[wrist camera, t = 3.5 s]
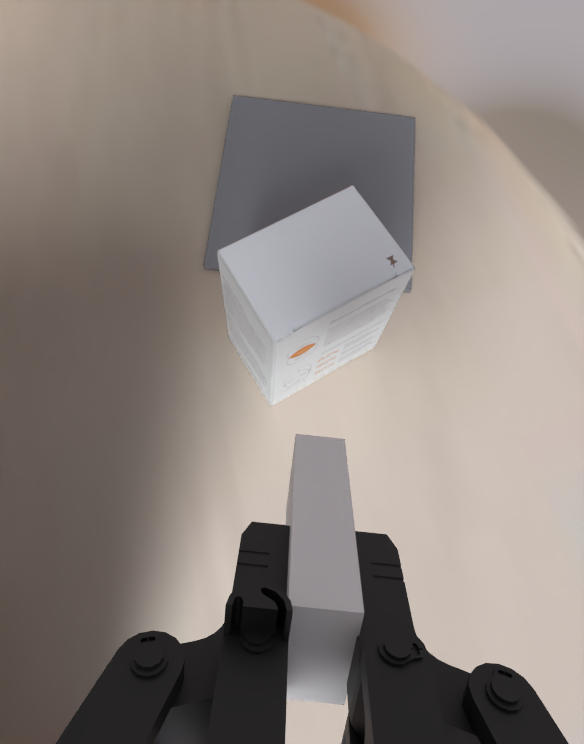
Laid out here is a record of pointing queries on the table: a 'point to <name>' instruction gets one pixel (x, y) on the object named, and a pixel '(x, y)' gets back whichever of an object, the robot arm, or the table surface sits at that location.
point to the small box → (311, 292)
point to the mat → (310, 167)
